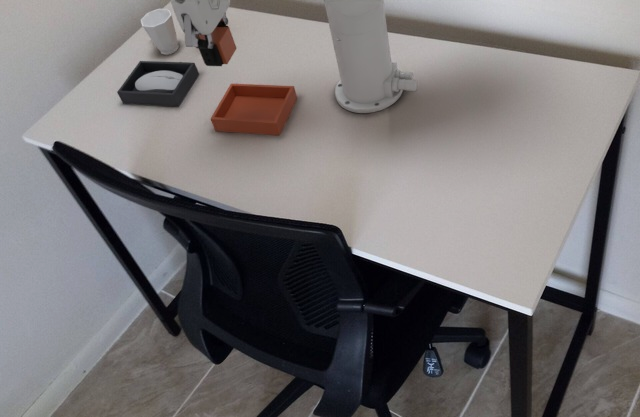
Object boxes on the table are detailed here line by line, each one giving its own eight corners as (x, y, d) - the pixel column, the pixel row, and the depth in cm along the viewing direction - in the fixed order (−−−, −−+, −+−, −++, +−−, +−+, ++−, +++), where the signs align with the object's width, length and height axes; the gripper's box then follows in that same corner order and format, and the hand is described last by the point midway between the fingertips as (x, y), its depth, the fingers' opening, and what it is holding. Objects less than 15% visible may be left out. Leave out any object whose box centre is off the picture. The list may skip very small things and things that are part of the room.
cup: (165, 62, 139) (151, 30, 133) (141, 48, 145) (126, 17, 139) (190, 45, 142) (177, 13, 136) (165, 32, 148) (152, 0, 142)
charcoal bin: (199, 74, 134) (194, 62, 132) (178, 106, 128) (173, 95, 126) (145, 72, 138) (139, 60, 136) (123, 103, 132) (116, 92, 130)
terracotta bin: (297, 98, 122) (294, 86, 120) (279, 135, 116) (275, 123, 114) (235, 95, 127) (230, 83, 125) (215, 131, 121) (210, 119, 119)
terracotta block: (236, 48, 111) (229, 26, 108) (227, 64, 109) (219, 42, 106) (214, 48, 113) (206, 26, 110) (204, 64, 110) (195, 42, 107)
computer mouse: (181, 94, 130) (175, 82, 128) (135, 99, 132) (129, 87, 130) (187, 75, 134) (182, 63, 131) (142, 80, 136) (137, 69, 133)
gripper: (180, -14, 91) (221, 88, 105) (225, -74, 101) (257, 26, 114) (135, -12, 94) (181, 86, 107) (183, -71, 104) (220, 26, 117)
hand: (220, 54), depth 111 cm, fingers closed on terracotta block, 4 cm apart
